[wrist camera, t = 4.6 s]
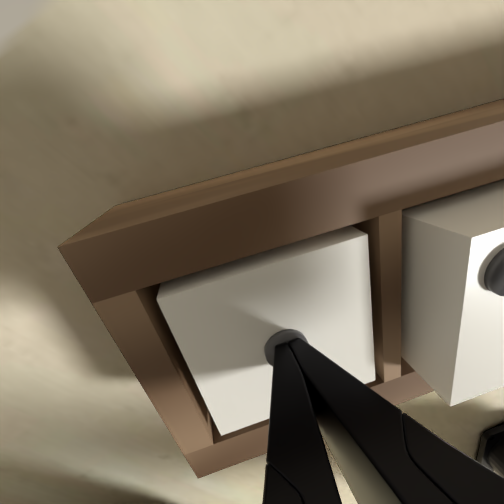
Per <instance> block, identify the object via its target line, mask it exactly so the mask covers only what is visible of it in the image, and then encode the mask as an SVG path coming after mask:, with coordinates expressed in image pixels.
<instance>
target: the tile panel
mask: <svg viewBox="0 0 504 504" xmlns="http://www.w3.org/2000/svg"><path fill="white" fill-rule="evenodd" d="M503 179H504V99H501V100H498V101H494V102H490V103H487V104H483V105H479V106H476V107H472V108H469V109H465V110H461V111H458V112H454V113H450V114H447V115H443V116H439V117H436V118H432V119H429V120H425V121H421V122H418V123H414V124H410V125H407V126H403V127H400V128H396V129H392V130H389V131H385V132H381V133H378V134H374V135H370V136H367V137H363V138H360V139H356V140H352V141H349V142H345V143H341V144H338V145H334V146H330V147H327V148H323V149H320V150H316V151H312V152H309V153H305V154H301V155H298V156H294V157H290V158H287V159H283V160H280V161H276V162H272V163H269V164H265V165H261V166H258V167H254V168H251V169H247V170H243V171H240V172H236V173H232V174H229V175H225V176H221V177H218V178H214V179H211V180H207V181H203V182H200V183H196V184H192V185H189V186H185V187H181V188H178V189H174V190H171V191H167V192H163V193H160V194H156V195H152V196H149V197H145V198H141V199H138V200H134V201H131V202H127V203H123V204H120V205H116V206H114V207H113V208H111V209H110V210H109V211H107V212H106V213H104V214H103V215H102V216H100V217H99V218H97V219H96V220H95V221H93V222H92V223H90V224H89V225H88V226H86V227H85V228H83V229H82V230H80V231H79V232H78V233H76V234H75V235H73V236H72V237H71V238H69V239H68V240H66V241H65V242H64V243H62V244H61V245H59V246H58V249H59V251H60V252H61V254H62V256H63V257H64V259H65V261H66V262H67V264H68V265H69V267H70V269H71V270H72V272H73V274H74V275H75V277H76V279H77V280H78V282H79V284H80V285H81V287H82V288H83V290H84V292H85V293H86V295H87V297H88V298H89V300H90V302H91V303H92V305H93V307H94V308H95V310H96V311H97V313H98V315H99V316H100V318H101V320H102V321H103V323H104V325H105V326H106V328H107V330H108V331H109V333H110V334H111V336H112V338H113V339H114V341H115V343H116V344H117V346H118V348H119V349H120V351H121V353H122V354H123V356H124V358H125V359H126V361H127V362H128V364H129V366H130V367H131V369H132V371H133V372H134V374H135V376H136V377H137V379H138V381H139V382H140V384H141V385H142V387H143V389H144V390H145V392H146V394H147V395H148V397H149V399H150V400H151V402H152V404H153V405H154V407H155V408H156V410H157V412H158V413H159V415H160V417H161V418H162V420H163V422H164V423H165V425H166V427H167V428H168V430H169V431H170V433H171V435H172V436H173V438H174V440H175V441H176V443H177V445H178V446H179V448H180V450H181V451H182V453H183V454H184V456H185V458H186V459H187V461H188V463H189V464H190V466H191V468H192V469H193V471H194V473H195V474H196V476H197V477H198V478H201V477H203V476H206V475H209V474H211V473H214V472H217V471H219V470H222V469H225V468H227V467H230V466H233V465H236V464H238V463H241V462H244V461H246V460H249V459H252V458H254V457H257V456H260V455H262V454H265V453H267V444H268V430H269V419H266V420H264V421H261V422H258V423H255V424H253V425H250V426H247V427H244V428H241V429H239V430H236V431H233V432H230V433H228V434H225V435H222V436H221V434H220V432H219V430H218V428H217V426H216V424H215V422H214V420H213V418H212V416H211V413H210V411H209V409H208V407H207V405H206V403H205V401H204V399H203V397H202V395H201V393H200V390H199V388H198V386H197V384H196V382H195V380H194V378H193V376H192V374H191V372H190V369H189V367H188V365H187V363H186V361H185V359H184V357H183V355H182V353H181V351H180V348H179V346H178V344H177V342H176V340H175V338H174V336H173V334H172V332H171V330H170V327H169V325H168V323H167V321H166V319H165V317H164V315H163V313H162V311H161V309H160V306H159V304H158V302H157V300H156V299H157V295H158V292H159V288H160V284H161V282H165V281H168V280H171V279H175V278H178V277H181V276H184V275H188V274H191V273H194V272H198V271H201V270H204V269H208V268H211V267H214V266H217V265H221V264H224V263H227V262H231V261H234V260H237V259H240V258H244V257H247V256H250V255H254V254H257V253H260V252H263V251H267V250H270V249H273V248H277V247H280V246H283V245H286V244H290V243H293V242H296V241H300V240H303V239H306V238H309V237H313V236H316V235H319V234H323V233H326V232H329V231H333V230H336V229H339V228H342V227H346V226H349V225H351V226H352V227H354V228H356V229H358V230H360V231H362V232H364V233H366V234H368V250H369V268H370V287H371V306H372V324H373V343H374V362H375V381H372V382H369V383H366V384H365V385H367V386H368V387H369V388H371V389H372V390H374V391H375V392H376V393H378V394H379V395H380V396H382V397H383V398H385V399H386V400H387V401H389V402H390V403H391V404H393V405H397V404H400V403H402V402H405V401H408V400H410V399H413V398H416V397H419V396H421V395H424V394H427V393H429V392H432V391H434V390H433V389H432V388H431V387H430V386H429V385H428V384H427V382H426V381H425V380H424V379H423V378H422V377H421V376H420V375H419V374H418V373H417V372H416V371H415V370H414V369H413V368H412V367H411V366H410V365H409V364H408V363H407V362H406V361H405V360H404V359H403V358H402V357H401V275H402V210H404V209H408V208H411V207H414V206H418V205H421V204H424V203H427V202H431V201H434V200H437V199H441V198H444V197H447V196H450V195H454V194H457V193H460V192H464V191H467V190H470V189H473V188H477V187H480V186H483V185H487V184H490V183H493V182H496V181H500V180H503ZM320 432H321V431H320Z"/></svg>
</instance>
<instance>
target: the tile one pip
mask: <svg viewBox="0 0 504 504" xmlns="http://www.w3.org/2000/svg"><path fill="white" fill-rule="evenodd" d="M156 300H157V302H158V304H159V306H160V309H161V311H162V313H163V315H164V317H165V319H166V321H167V323H168V325H169V327H170V330H171V332H172V334H173V336H174V338H175V340H176V342H177V344H178V346H179V348H180V351H181V353H182V355H183V357H184V359H185V361H186V363H187V365H188V367H189V369H190V372H191V374H192V376H193V378H194V380H195V382H196V384H197V386H198V388H199V390H200V393H201V395H202V397H203V399H204V401H205V403H206V405H207V407H208V409H209V411H210V413H211V416H212V418H213V420H214V422H215V424H216V426H217V428H218V430H219V432H220V434H221V436H222V435H225V434H228V433H230V432H233V431H236V430H239V429H241V428H244V427H247V426H250V425H253V424H255V423H258V422H261V421H264V420H266V419H269V416H270V402H271V388H272V374H273V360H274V347H275V345H278V344H281V343H283V342H287V343H288V341H289V340H292V339H295V338H302V339H303V340H304V341H306V342H307V343H308V344H310V345H311V346H313V347H314V348H315V349H317V350H318V351H320V352H321V353H322V354H324V355H325V356H326V357H328V358H329V359H331V360H332V361H333V362H335V363H336V364H338V365H339V366H340V367H342V368H343V369H344V370H346V371H347V372H349V373H350V374H351V375H353V376H354V377H356V378H357V379H358V380H360V381H361V382H362V383H364V384H366V383H369V382H372V381H375V362H374V343H373V324H372V306H371V287H370V268H369V250H368V234H366V233H364V232H362V231H360V230H358V229H356V228H354V227H352V226H351V225H349V226H346V227H342V228H339V229H336V230H333V231H329V232H326V233H323V234H319V235H316V236H313V237H309V238H306V239H303V240H300V241H296V242H293V243H290V244H286V245H283V246H280V247H277V248H273V249H270V250H267V251H263V252H260V253H257V254H254V255H250V256H247V257H244V258H240V259H237V260H234V261H231V262H227V263H224V264H221V265H217V266H214V267H211V268H208V269H204V270H201V271H198V272H194V273H191V274H188V275H184V276H181V277H178V278H175V279H171V280H168V281H165V282H161V284H160V288H159V292H158V295H157V299H156Z"/></svg>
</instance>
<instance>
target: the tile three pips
mask: <svg viewBox="0 0 504 504" xmlns="http://www.w3.org/2000/svg"><path fill="white" fill-rule="evenodd" d="M401 357H402V358H403V359H404V360H405V361H406V362H407V363H408V364H409V365H410V366H411V367H412V368H413V369H414V370H415V371H416V372H417V373H418V374H419V375H420V376H421V377H422V378H423V379H424V380H425V381H426V382H427V384H428V385H429V386H430V387H431V388H432V389H433V390H434V391H435V392H436V393H437V394H438V395H439V396H440V397H441V398H442V399H443V400H444V401H445V402H446V403H447V404H448V405H449V406H450V407H451V406H453V405H456V404H459V403H461V402H464V401H467V400H469V399H472V398H475V397H477V396H480V395H482V394H485V393H488V392H490V391H493V390H496V389H498V388H501V387H504V179H503V180H500V181H496V182H493V183H490V184H487V185H483V186H480V187H477V188H473V189H470V190H467V191H464V192H460V193H457V194H454V195H450V196H447V197H444V198H441V199H437V200H434V201H431V202H427V203H424V204H421V205H418V206H414V207H411V208H408V209H404V210H402V275H401Z"/></svg>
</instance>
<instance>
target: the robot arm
mask: <svg viewBox="0 0 504 504" xmlns="http://www.w3.org/2000/svg"><path fill="white" fill-rule="evenodd" d="M320 431H321V432H320ZM321 433H322V435H323V437H324V439H325V441H326V443H327V445H328V447H329V448H330V450H331V452H332V454H333V456H334V458H335V460H336V462H337V464H338V466H339V468H340V470H341V472H342V474H343V476H344V478H345V480H346V481H347V483H348V485H349V487H350V489H351V491H352V493H353V495H354V497H355V499H356V501H357V503H358V504H504V424H502V425H500V426H497V427H495V428H492V429H490V430H487V431H486V432H484V433H483V435H482V438H481V443H480V447H479V451H478V456H477V460H476V461H475V460H474V459H472V458H471V457H469V456H467V455H466V454H464V453H463V452H461V451H460V450H458V449H456V448H455V447H453V446H452V445H450V444H448V443H447V442H445V441H444V440H442V439H441V438H439V437H438V436H437V435H435V434H434V433H432V432H431V431H429V430H428V429H426V428H425V427H424V426H422V425H421V424H419V423H418V422H416V421H415V420H414V419H412V418H411V417H410V416H408V415H407V414H406V413H402V411H401V410H400V409H398V408H397V407H396V406H394V405H393V404H391V403H390V402H389V401H387V400H386V399H385V398H383V397H382V396H380V395H379V394H378V393H376V392H375V391H374V390H372V389H371V388H369V387H368V386H367V385H365V384H364V383H362V382H361V381H360V380H358V379H357V378H356V377H354V376H353V375H351V374H350V373H349V372H347V371H346V370H344V369H343V368H342V367H340V366H339V365H338V364H336V363H335V362H333V361H332V360H331V359H329V358H328V357H326V356H325V355H324V354H322V353H321V352H320V351H318V350H317V349H315V348H314V347H313V346H311V345H310V344H308V343H307V342H306V341H304V340H303V339H302V338H295V339H292V340H289V341H288V343H287V342H283V343H281V344H278V345H275V347H274V360H273V374H272V388H271V402H270V416H269V430H268V444H267V458H266V462H267V464H266V469H265V483H264V493H263V503H262V504H342V502H341V499H340V495H339V492H338V489H337V485H336V482H335V478H334V475H333V472H332V468H331V465H330V462H329V458H328V455H327V452H326V448H325V445H324V442H323V438H322V435H321ZM493 471H494V472H493Z"/></svg>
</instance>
